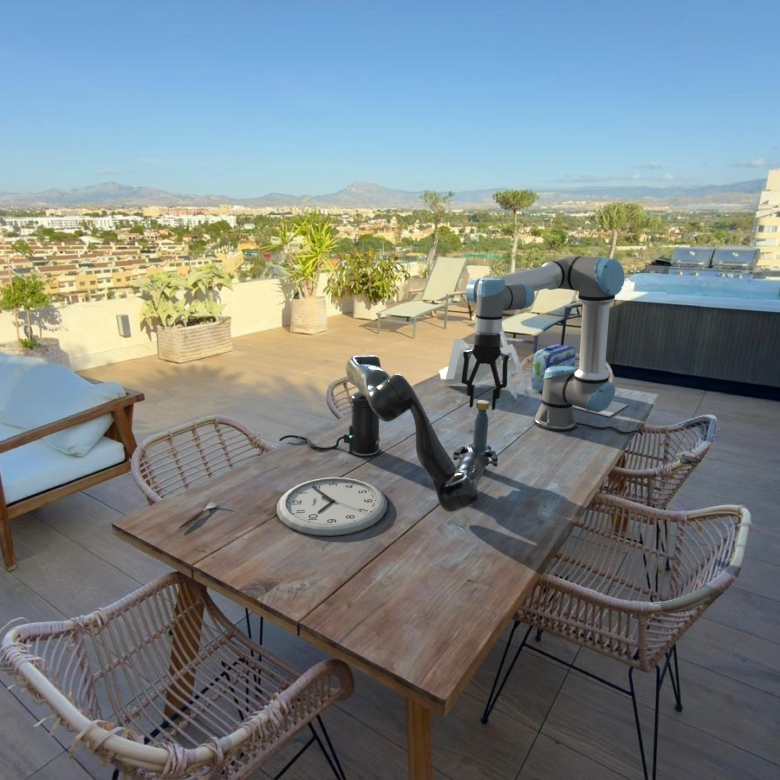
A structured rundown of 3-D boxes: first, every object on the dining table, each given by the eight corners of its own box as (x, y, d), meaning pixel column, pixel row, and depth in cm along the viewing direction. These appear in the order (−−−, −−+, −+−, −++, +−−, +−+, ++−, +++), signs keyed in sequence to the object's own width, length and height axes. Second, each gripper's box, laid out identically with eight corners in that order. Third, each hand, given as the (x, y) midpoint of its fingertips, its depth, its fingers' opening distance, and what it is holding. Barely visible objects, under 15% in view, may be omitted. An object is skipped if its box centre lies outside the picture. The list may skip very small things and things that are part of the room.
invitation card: (608, 416, 214) (573, 407, 224) (608, 416, 214) (573, 408, 224) (628, 404, 229) (594, 396, 238) (628, 405, 229) (594, 397, 238)
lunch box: (547, 397, 237) (552, 352, 231) (526, 391, 245) (531, 348, 238) (574, 386, 255) (580, 344, 249) (554, 381, 262) (559, 340, 256)
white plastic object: (461, 429, 252) (437, 405, 227) (444, 352, 274) (420, 323, 250) (535, 404, 240) (518, 377, 215) (510, 326, 262) (492, 293, 237)
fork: (174, 529, 130) (174, 521, 130) (216, 499, 144) (215, 492, 144) (183, 531, 129) (182, 524, 129) (223, 501, 144) (223, 494, 143)
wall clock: (392, 527, 129) (268, 531, 127) (391, 533, 130) (269, 537, 127) (383, 473, 158) (282, 475, 155) (383, 478, 158) (282, 480, 156)
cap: (487, 406, 161) (488, 400, 160) (489, 410, 157) (489, 404, 157) (475, 405, 161) (476, 399, 161) (476, 409, 158) (477, 403, 157)
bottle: (468, 468, 166) (473, 402, 160) (479, 465, 168) (484, 401, 162) (475, 473, 163) (480, 406, 156) (487, 471, 164) (492, 405, 158)
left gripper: (496, 461, 147) (504, 439, 163) (446, 453, 152) (459, 432, 167) (494, 485, 149) (502, 461, 165) (445, 476, 154) (457, 454, 169)
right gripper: (522, 332, 153) (515, 407, 160) (457, 327, 158) (453, 400, 165) (520, 337, 146) (513, 415, 153) (453, 332, 152) (449, 407, 158)
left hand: (480, 446), depth 166 cm, fingers closed on bottle, 4 cm apart
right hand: (482, 407), depth 159 cm, fingers open, 6 cm apart
